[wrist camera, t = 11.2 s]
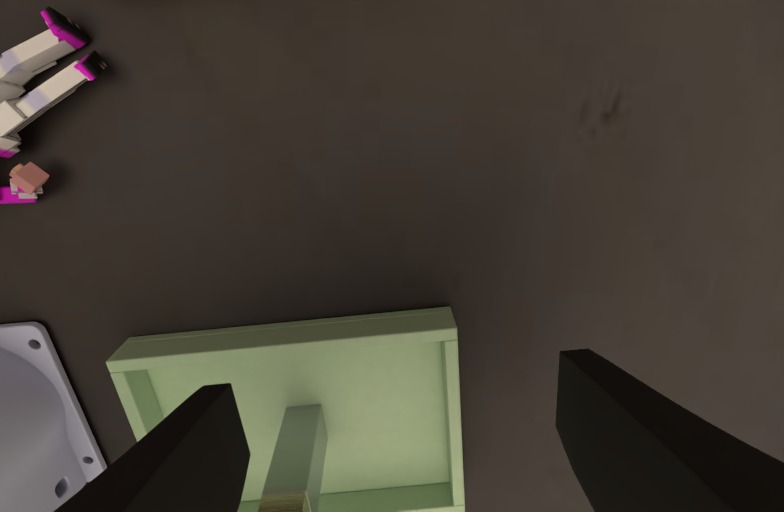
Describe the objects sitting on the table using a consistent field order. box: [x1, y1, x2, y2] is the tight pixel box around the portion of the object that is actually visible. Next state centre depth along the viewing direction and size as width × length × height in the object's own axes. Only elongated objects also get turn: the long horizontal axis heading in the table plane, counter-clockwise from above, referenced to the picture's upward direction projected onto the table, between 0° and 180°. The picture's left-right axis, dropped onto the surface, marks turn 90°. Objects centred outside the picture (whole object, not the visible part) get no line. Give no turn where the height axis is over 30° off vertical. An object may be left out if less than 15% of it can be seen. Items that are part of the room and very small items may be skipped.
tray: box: [106, 307, 465, 512], centre depth 22 cm, size 11×15×2 cm
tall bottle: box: [257, 405, 328, 512], centre depth 18 cm, size 2×2×10 cm
